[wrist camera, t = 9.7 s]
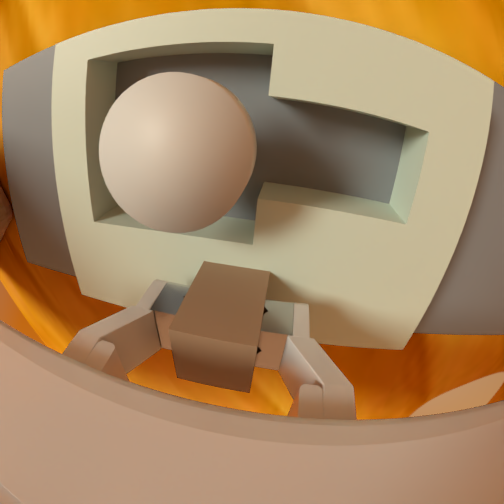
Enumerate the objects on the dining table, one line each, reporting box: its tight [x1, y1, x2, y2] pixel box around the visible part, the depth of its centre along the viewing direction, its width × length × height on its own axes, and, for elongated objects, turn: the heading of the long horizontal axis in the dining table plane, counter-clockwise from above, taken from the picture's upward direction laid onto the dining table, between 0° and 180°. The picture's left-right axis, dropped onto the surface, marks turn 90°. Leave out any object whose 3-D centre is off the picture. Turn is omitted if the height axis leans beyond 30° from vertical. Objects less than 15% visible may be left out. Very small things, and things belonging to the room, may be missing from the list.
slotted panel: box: [51, 8, 494, 393], centre depth 8 cm, size 12×16×6 cm
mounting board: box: [2, 45, 504, 335], centre depth 9 cm, size 14×39×5 cm, turn 85°
